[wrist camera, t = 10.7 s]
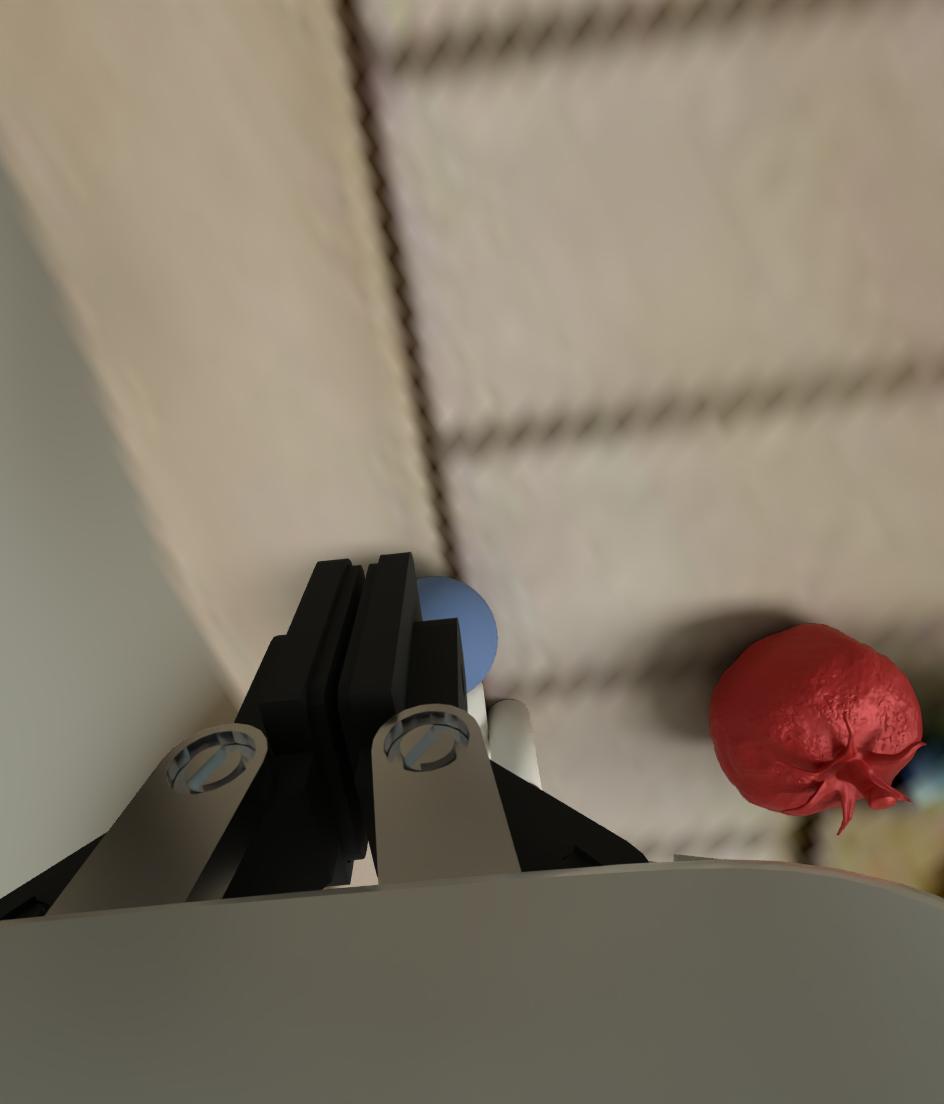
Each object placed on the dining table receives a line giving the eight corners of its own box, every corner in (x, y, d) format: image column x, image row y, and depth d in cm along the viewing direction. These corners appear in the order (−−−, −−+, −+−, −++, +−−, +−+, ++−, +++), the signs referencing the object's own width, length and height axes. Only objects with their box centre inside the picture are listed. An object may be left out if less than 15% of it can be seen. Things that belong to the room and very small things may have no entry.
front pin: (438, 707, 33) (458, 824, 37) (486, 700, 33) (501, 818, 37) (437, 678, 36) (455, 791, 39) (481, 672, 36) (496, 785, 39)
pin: (484, 700, 36) (493, 822, 29) (528, 696, 36) (549, 817, 29) (488, 734, 37) (498, 861, 30) (531, 730, 37) (551, 856, 30)
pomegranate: (658, 671, 36) (716, 799, 28) (821, 572, 34) (940, 679, 25) (744, 774, 39) (819, 916, 31) (899, 691, 37) (1026, 821, 28)
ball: (389, 685, 34) (386, 573, 34) (501, 685, 34) (498, 571, 34) (359, 717, 28) (356, 582, 28) (496, 718, 28) (493, 579, 28)
